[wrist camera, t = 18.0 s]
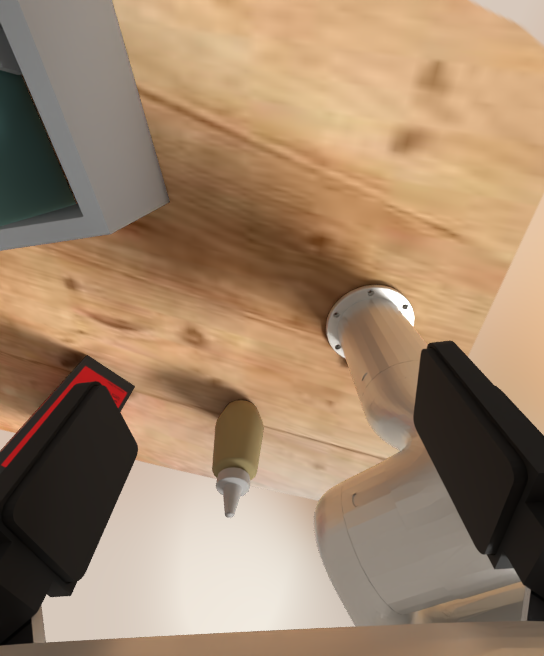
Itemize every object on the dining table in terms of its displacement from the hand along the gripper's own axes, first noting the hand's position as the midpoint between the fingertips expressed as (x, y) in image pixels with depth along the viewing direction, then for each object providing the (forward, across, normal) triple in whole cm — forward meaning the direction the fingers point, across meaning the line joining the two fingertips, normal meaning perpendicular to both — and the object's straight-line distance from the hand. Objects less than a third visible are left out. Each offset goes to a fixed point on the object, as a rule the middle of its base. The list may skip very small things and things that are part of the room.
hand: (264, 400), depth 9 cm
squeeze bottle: (+34, +10, +33) cm, 48 cm away
